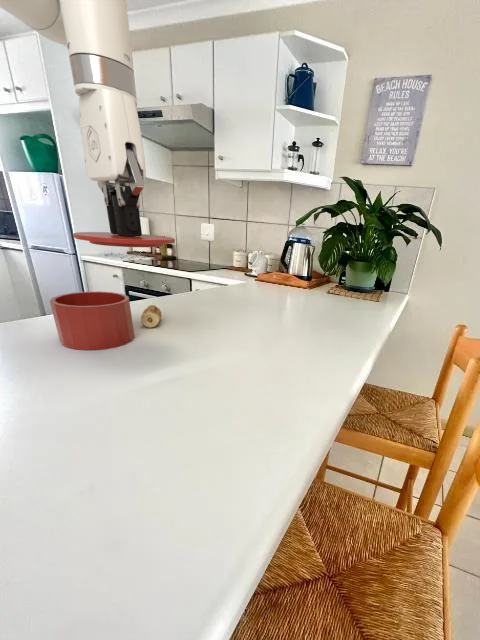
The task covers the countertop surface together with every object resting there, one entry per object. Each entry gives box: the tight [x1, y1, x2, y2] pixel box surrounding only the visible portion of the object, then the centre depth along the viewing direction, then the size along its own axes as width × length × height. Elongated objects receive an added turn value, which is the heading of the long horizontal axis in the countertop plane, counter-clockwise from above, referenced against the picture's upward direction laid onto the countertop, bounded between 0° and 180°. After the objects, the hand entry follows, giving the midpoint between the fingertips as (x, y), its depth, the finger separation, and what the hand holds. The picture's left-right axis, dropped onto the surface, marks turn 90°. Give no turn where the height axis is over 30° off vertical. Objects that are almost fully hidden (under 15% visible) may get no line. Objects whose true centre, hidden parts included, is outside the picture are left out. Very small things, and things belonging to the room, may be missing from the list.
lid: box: [72, 196, 176, 248], centre depth 51 cm, size 15×15×7 cm
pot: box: [49, 291, 135, 351], centre depth 67 cm, size 14×14×8 cm
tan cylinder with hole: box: [140, 304, 162, 328], centre depth 80 cm, size 8×4×4 cm, turn 15°
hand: (126, 234), depth 52 cm, fingers closed on lid, 2 cm apart
